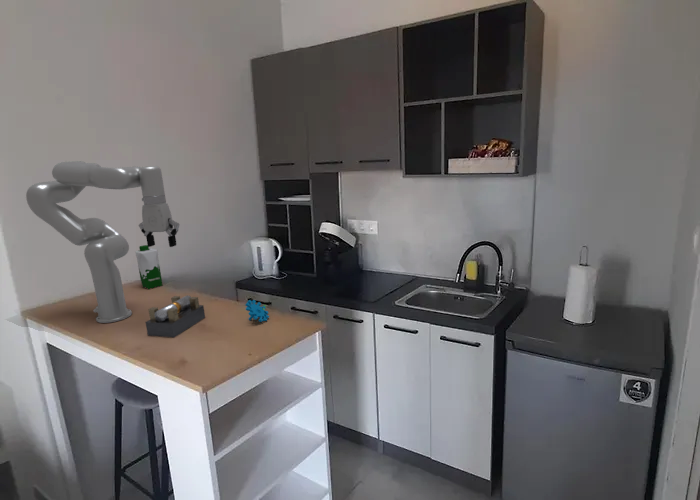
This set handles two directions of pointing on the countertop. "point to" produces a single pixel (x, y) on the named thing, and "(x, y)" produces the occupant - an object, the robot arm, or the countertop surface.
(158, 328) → the grey plate with feet
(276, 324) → the countertop surface
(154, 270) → the milk carton
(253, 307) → the gear
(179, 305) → the tube
